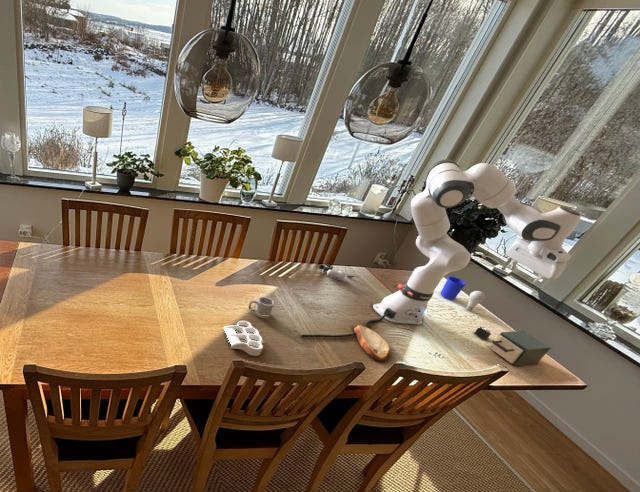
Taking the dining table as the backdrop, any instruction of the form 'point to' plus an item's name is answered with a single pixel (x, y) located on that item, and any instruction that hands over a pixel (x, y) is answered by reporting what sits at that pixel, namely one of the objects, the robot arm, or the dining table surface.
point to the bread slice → (372, 343)
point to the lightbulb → (475, 299)
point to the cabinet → (527, 347)
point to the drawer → (506, 348)
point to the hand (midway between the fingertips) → (522, 275)
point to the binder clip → (482, 333)
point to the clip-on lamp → (333, 272)
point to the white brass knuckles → (244, 337)
